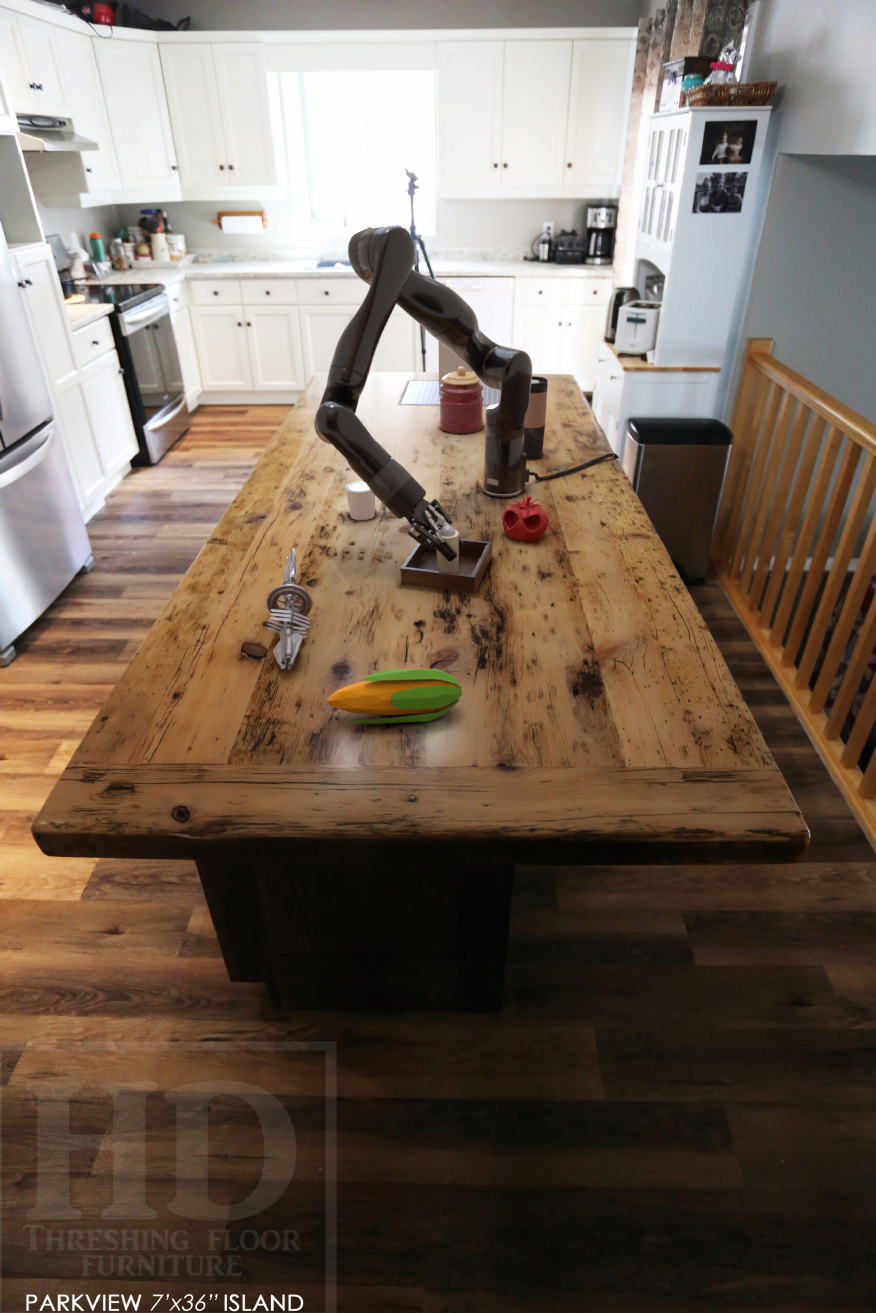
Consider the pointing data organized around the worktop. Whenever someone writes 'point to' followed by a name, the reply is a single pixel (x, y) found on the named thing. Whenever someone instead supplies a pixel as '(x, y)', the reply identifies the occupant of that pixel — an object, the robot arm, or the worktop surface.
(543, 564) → the worktop surface
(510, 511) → the pomegranate
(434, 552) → the tray
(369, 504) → the beige white cylinder
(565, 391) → the worktop surface
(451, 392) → the kitchen canister
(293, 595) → the spaceship
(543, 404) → the travel mug
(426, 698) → the corn
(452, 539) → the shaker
